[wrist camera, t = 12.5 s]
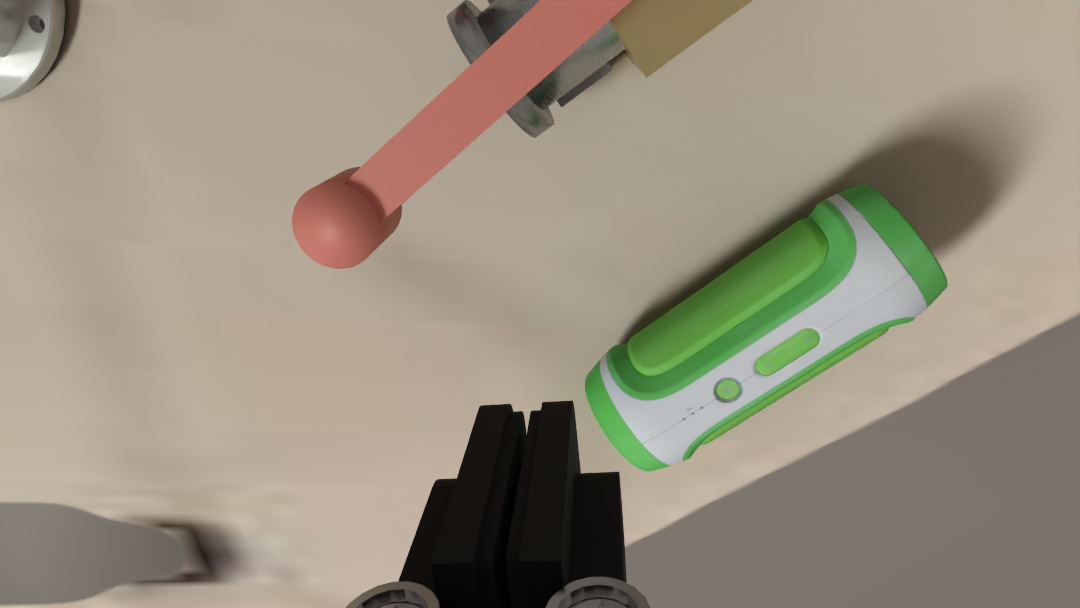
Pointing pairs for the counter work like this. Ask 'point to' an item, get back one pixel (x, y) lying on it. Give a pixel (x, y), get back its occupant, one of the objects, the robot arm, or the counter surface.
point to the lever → (441, 132)
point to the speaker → (764, 328)
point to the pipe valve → (591, 45)
